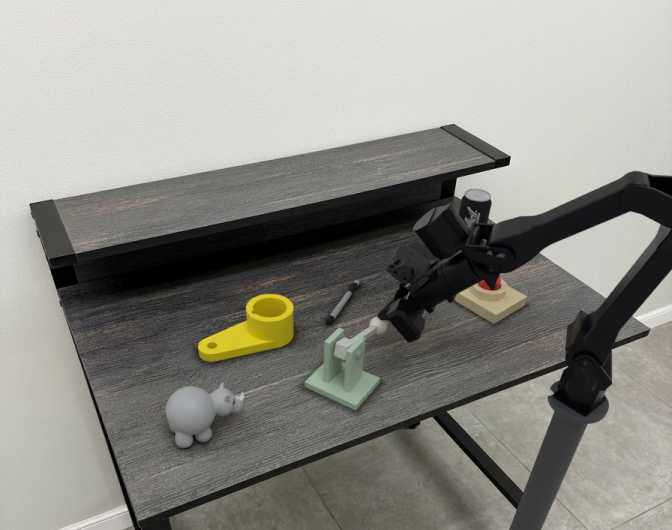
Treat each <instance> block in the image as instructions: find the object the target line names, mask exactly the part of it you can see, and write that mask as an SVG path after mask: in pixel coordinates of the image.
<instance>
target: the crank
mask: <svg viewBox="0 0 672 530" xmlns="http://www.w3.org/2000/svg"><path fill="white" fill-rule="evenodd" d="M245 313H246V314H245V315H246V320H245V321H243V322H240V323H237V324H234V325H233V326H231V327H228V328H226V329H223V330H222V331H219V332H217V333H215V334H212V335H210V336H208V337H206V338H203V339H202V340H200V341H199V343H198V345H197V349H198V356H199V358H200V359H201V360H203V361H205V362H209V363H210V362H211V363H213V362H218V361H223V360H228V359H232V358H236V357H241V356H246V355H250V354H255V353H260V352H264V351H269V350H273V349H279V348H281V347H284V346H286V345H288V344H289V343H290V342H291V341H292V340H293V338H294V335H295V334H294V333H295V332H294V330H295V329H294V325H295V324H294V304H293V302H292V301H291V300H290V299H289V298H287V297H286V296H283V295H281V294H277V293H276V294H275V293H264V294H260V295H257V296H254V297H253V298H251V299H250V300H248V301H247V303H246V306H245Z"/></svg>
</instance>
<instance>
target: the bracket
mask: <svg viewBox="0 0 672 530" xmlns="http://www.w3.org/2000/svg"><path fill="white" fill-rule="evenodd" d="M344 337H345V329H344V328H341V327H338V328H337V329H336V330H335V331H334V332H332V333H331V334H330V335H329V337H328V338H327V339H325V340H324V345H323V346H324V347H323V348H324V349H323V363H322V364H321V365H320V366H319V367H318V368H317V369H315V371H314V372H313V373H312V374H311V375H310V376H309V377H308V378H307V379H306V380H304V388H306V389H308V390H310V391H313V392H315V393H317V394H319V395H321V396H323V397H325V398H328V399H329V400H332V401H334V402H336V403H339V404H341V405H343V406H345V407H347V408H349V409H352V410H354V411H357V410H358V409H359V408H360V406H362V404H363V403H364V402H365V400H366V399H368V398H369V396H370V395H371V394H372V393H373V392H374V390H375V389H376V388H377V387H378V386H379V384H380V382H381V377H379V376H376V375H374V374H372V373H370V372H367V371H365V370H363V369H364V359H365V348H366V340H365V338H363V337H361V336H360V337H359V338H358V339H357V340H356V341H355V342H354V343H353V344H352V345H351V346H350V347H349V348H348V349H347V350H346V360H345V361H343V359H341V358H338V357H336V356H334V350H335V344H336V342H337V341H339V340H341V339H342V338H344Z"/></svg>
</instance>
